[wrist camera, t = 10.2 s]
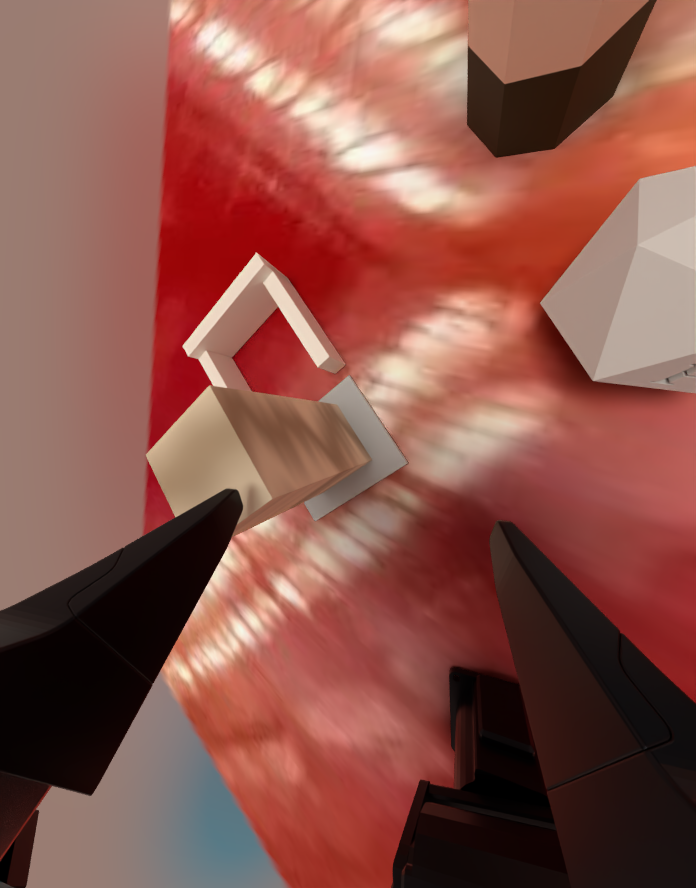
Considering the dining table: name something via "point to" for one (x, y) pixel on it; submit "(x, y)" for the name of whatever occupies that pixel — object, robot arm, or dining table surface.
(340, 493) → the grey pad
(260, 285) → the white angular bracket
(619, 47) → the wine bottle
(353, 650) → the dining table surface
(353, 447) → the birch block
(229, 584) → the dining table surface
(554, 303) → the die
